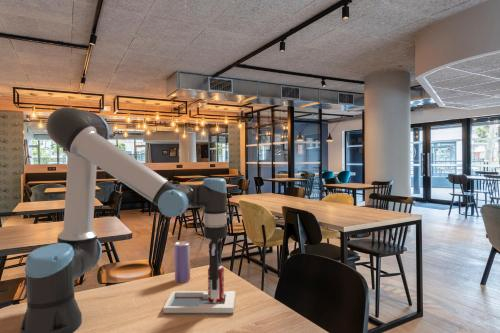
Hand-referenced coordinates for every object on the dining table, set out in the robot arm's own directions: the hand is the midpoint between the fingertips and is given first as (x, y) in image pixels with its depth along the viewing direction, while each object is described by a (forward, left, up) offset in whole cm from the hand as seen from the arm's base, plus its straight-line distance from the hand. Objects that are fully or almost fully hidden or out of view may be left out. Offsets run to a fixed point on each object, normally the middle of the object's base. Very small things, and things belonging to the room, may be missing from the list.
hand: (216, 294), depth 105 cm
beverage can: (-16, +21, -4) cm, 27 cm away
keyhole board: (-5, 0, -4) cm, 6 cm away
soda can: (0, 0, -2) cm, 2 cm away
